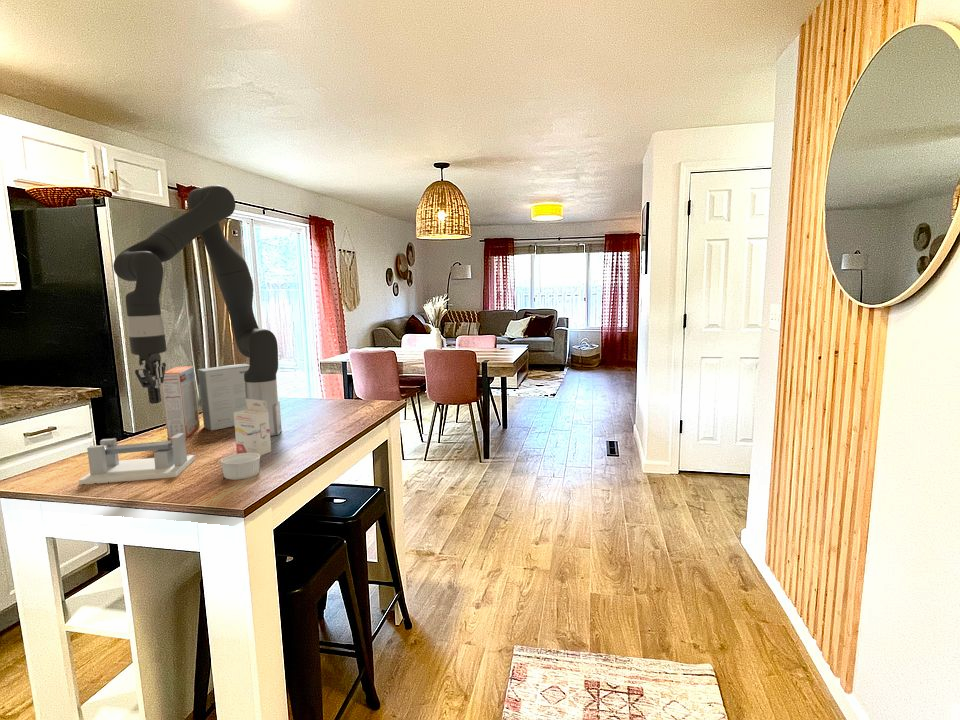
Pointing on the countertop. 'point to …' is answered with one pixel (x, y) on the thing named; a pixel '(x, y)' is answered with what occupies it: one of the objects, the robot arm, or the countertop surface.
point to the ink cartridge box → (253, 428)
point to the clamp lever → (137, 447)
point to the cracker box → (180, 401)
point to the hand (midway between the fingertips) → (155, 402)
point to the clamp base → (136, 463)
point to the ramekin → (241, 465)
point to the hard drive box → (222, 394)
